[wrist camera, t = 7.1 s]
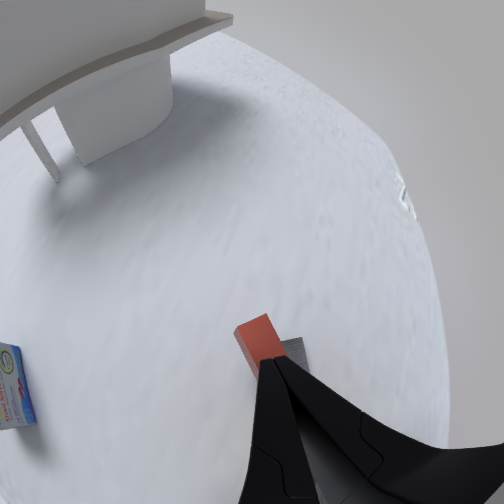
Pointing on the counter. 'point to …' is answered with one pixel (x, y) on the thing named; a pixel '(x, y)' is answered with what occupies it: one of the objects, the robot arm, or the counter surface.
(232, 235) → the counter surface
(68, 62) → the architectural model
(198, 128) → the counter surface
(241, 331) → the lever
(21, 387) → the medicine box
